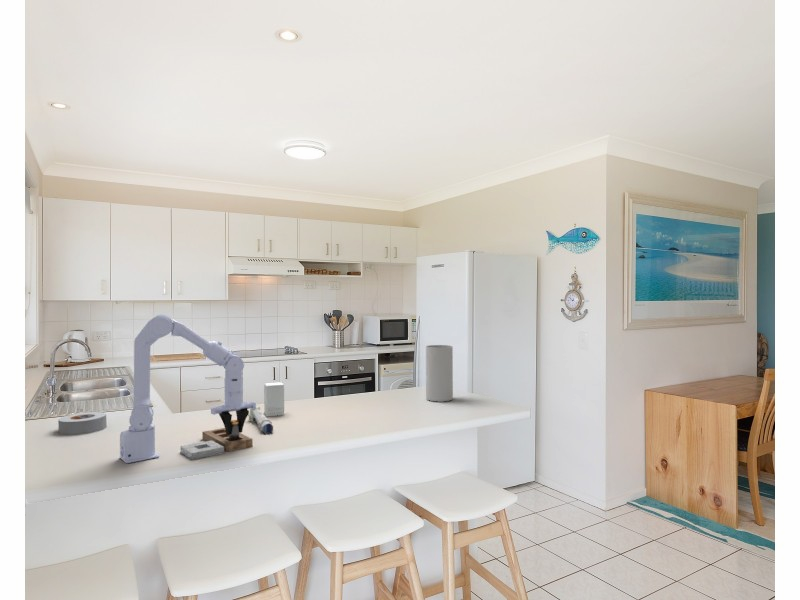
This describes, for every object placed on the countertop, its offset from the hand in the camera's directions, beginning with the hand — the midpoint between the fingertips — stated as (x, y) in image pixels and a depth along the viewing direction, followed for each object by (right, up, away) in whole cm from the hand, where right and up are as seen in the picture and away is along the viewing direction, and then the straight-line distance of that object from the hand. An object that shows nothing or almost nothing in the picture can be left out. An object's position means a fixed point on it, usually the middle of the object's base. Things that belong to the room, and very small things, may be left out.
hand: (234, 433), depth 174 cm
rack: (-4, -4, +5) cm, 7 cm away
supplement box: (+2, -4, +47) cm, 47 cm away
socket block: (-8, -5, -7) cm, 11 cm away
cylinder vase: (+73, -3, +75) cm, 104 cm away
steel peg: (0, -3, 0) cm, 3 cm away
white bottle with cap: (+1, -5, +27) cm, 28 cm away
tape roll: (-64, -5, +23) cm, 68 cm away
